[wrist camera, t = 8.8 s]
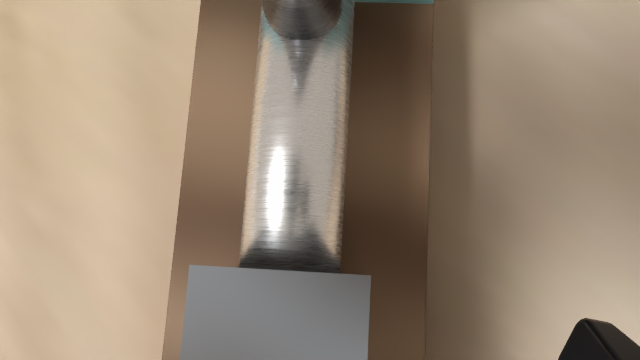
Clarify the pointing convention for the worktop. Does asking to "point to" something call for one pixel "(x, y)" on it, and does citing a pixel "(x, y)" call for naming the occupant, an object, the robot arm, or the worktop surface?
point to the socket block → (399, 1)
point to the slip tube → (298, 137)
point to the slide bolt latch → (358, 216)
